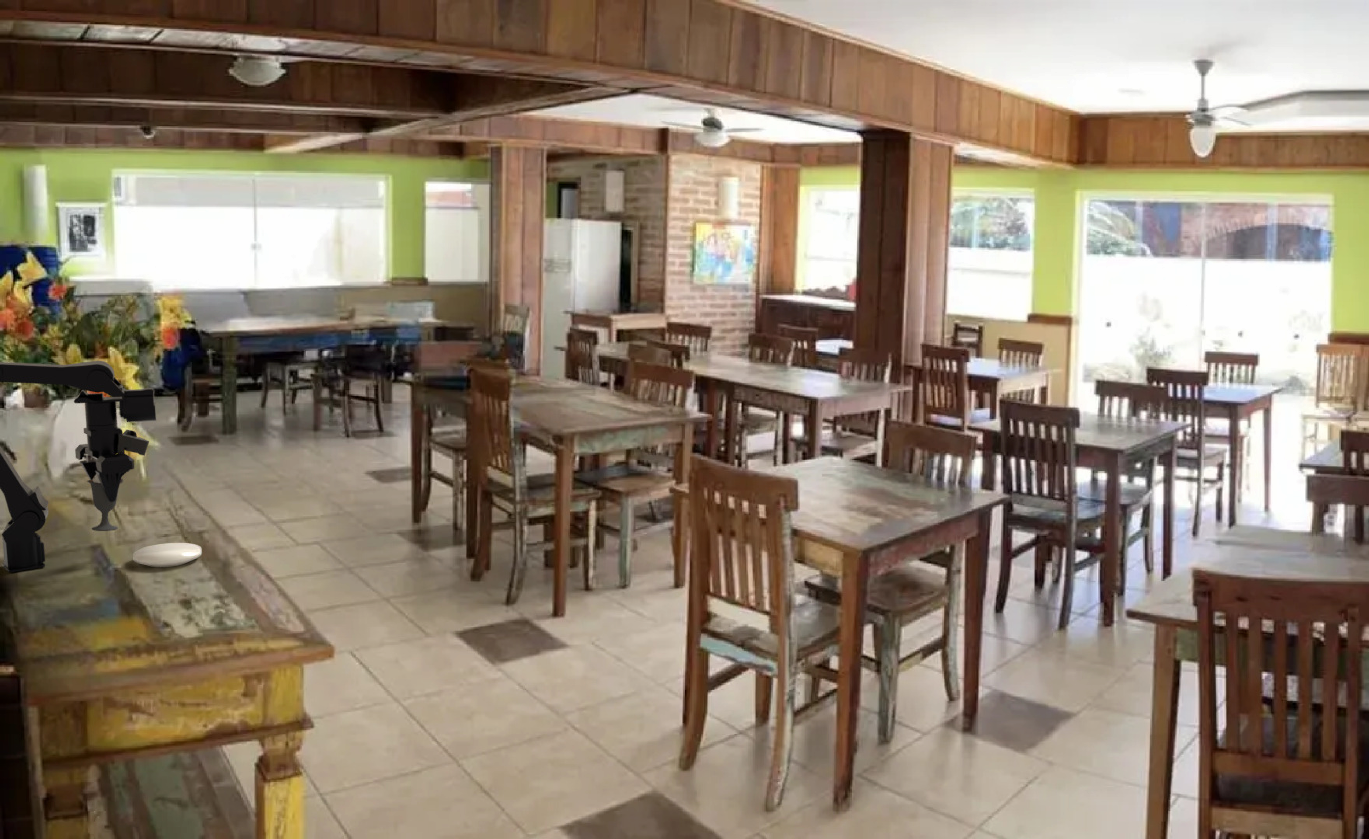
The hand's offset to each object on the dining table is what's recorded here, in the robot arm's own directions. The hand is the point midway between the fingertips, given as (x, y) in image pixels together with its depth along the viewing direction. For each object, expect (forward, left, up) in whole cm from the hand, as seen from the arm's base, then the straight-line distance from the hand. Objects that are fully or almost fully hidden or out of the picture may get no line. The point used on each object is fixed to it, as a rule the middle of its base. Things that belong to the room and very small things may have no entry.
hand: (106, 498), depth 246 cm
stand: (+9, -8, -13) cm, 18 cm away
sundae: (-1, -1, -6) cm, 7 cm away
